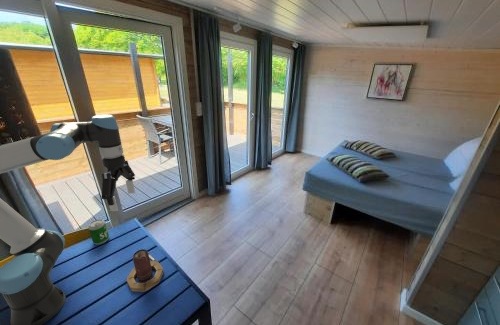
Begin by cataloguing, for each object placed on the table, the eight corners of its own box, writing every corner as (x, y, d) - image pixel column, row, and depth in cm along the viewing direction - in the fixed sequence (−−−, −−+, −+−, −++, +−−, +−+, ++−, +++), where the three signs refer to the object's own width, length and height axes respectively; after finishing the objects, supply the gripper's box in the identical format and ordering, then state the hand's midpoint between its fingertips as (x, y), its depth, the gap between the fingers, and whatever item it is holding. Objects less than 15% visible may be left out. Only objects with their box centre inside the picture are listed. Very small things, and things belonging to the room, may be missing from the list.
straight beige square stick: (154, 260, 105) (154, 259, 105) (153, 261, 105) (153, 260, 104) (143, 250, 110) (143, 249, 110) (142, 251, 110) (142, 250, 110)
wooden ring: (122, 291, 90) (121, 288, 89) (137, 264, 103) (137, 260, 102) (155, 291, 90) (154, 288, 89) (166, 264, 103) (166, 261, 102)
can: (147, 284, 93) (142, 261, 88) (135, 281, 94) (129, 258, 89) (156, 272, 99) (151, 250, 93) (143, 270, 100) (138, 247, 94)
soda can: (97, 247, 111) (91, 229, 107) (90, 241, 115) (84, 224, 110) (112, 239, 117) (107, 221, 113) (105, 233, 121) (100, 216, 116)
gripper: (102, 168, 72) (115, 219, 80) (137, 145, 95) (145, 187, 103) (79, 168, 71) (95, 219, 80) (120, 145, 94) (129, 186, 103)
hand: (123, 201), depth 91 cm, fingers open, 13 cm apart
